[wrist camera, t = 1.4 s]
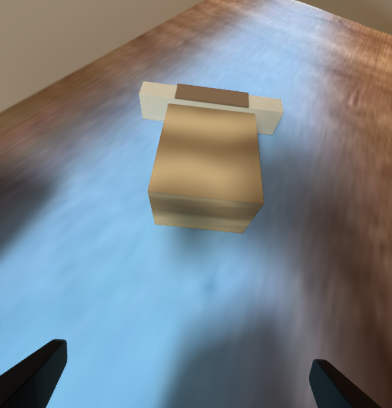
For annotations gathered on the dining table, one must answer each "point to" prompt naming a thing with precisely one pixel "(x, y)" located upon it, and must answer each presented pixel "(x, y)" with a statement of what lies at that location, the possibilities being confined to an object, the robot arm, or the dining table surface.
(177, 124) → the oak block
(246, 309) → the dining table surface
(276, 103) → the cream board
